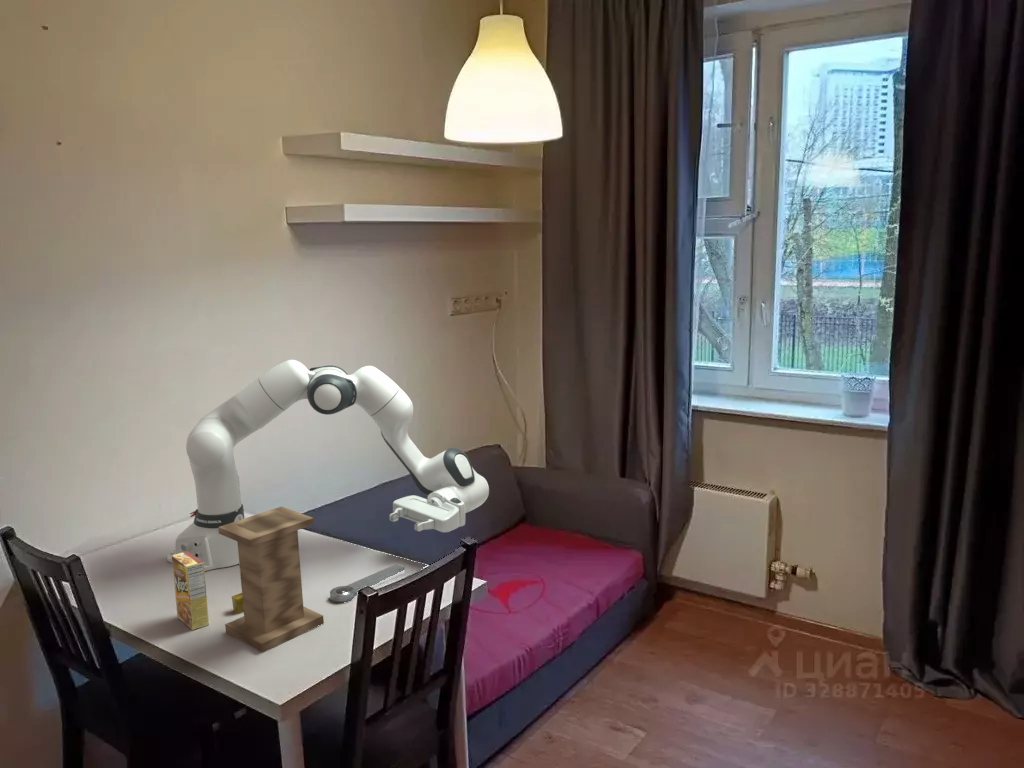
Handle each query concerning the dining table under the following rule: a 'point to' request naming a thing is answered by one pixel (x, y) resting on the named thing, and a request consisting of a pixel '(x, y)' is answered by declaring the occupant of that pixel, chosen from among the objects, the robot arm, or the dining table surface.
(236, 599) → the medication box
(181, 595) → the candy box
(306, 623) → the stand
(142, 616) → the dining table surface
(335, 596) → the spanner
